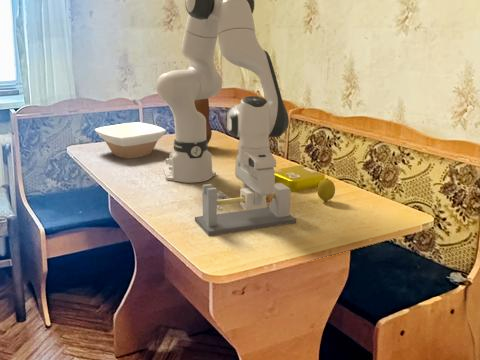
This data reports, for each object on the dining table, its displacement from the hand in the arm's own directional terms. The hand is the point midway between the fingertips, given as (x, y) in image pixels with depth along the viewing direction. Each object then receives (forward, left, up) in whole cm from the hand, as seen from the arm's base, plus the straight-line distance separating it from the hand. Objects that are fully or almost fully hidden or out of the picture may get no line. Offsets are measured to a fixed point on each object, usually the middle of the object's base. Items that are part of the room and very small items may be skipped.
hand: (253, 201), depth 170 cm
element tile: (-28, +29, -7) cm, 41 cm away
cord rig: (0, -2, -6) cm, 7 cm away
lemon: (-7, +29, -6) cm, 30 cm away
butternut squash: (-87, +12, -6) cm, 88 cm away
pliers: (-19, -1, -7) cm, 20 cm away
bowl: (-89, -16, -6) cm, 91 cm away
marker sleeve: (0, 0, -2) cm, 2 cm away
